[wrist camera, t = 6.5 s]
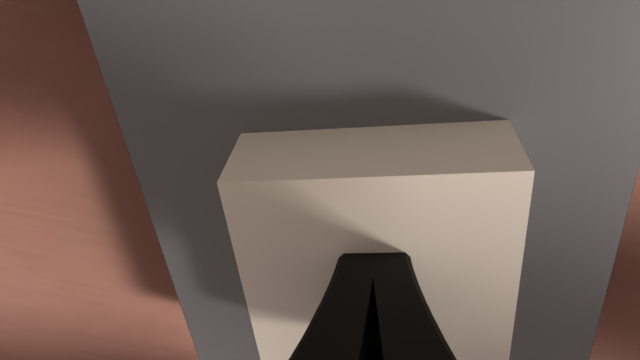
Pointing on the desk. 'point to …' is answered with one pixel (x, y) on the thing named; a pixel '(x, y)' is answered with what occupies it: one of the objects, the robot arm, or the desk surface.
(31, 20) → the desk surface
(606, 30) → the panel
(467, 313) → the cap
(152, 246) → the desk surface
